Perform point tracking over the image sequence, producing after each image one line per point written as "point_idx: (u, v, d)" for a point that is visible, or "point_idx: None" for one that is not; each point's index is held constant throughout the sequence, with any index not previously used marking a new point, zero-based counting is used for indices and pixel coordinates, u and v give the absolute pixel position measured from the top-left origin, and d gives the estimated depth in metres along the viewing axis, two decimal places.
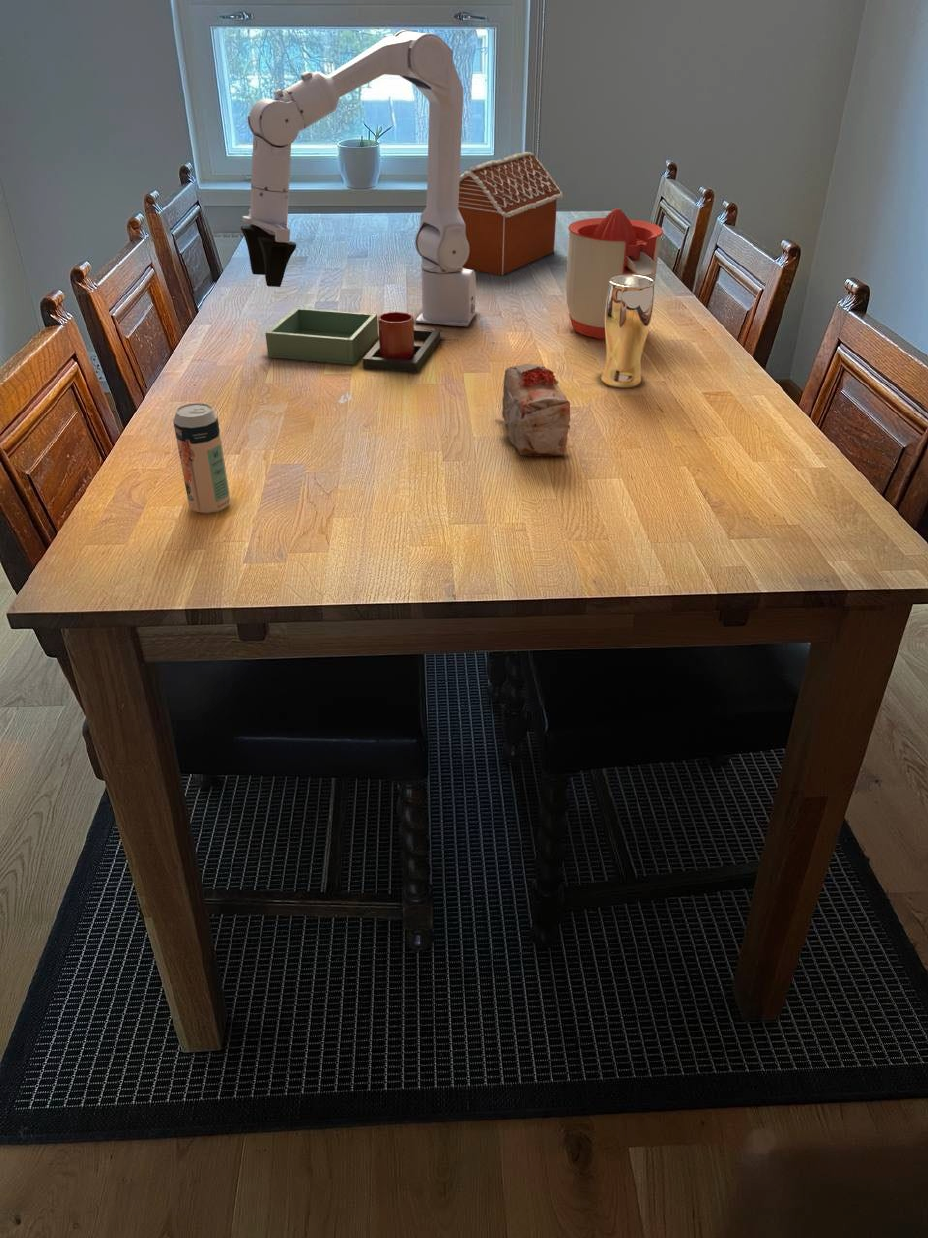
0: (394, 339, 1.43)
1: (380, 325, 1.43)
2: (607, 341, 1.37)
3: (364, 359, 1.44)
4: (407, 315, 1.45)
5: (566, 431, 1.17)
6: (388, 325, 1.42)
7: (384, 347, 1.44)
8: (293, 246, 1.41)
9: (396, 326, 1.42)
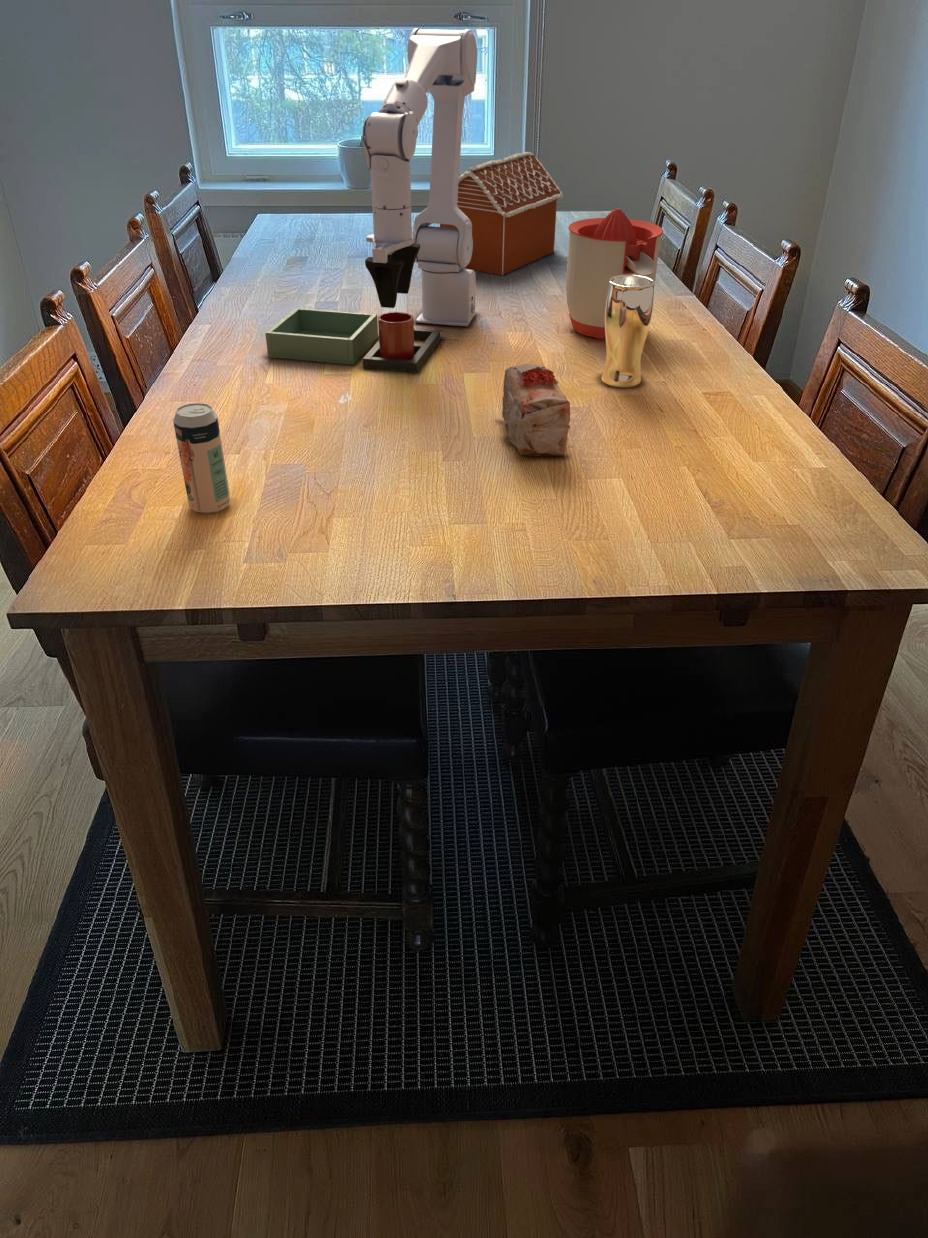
0: (394, 339, 1.43)
1: (380, 325, 1.43)
2: (607, 341, 1.37)
3: (364, 359, 1.44)
4: (407, 315, 1.45)
5: (566, 431, 1.17)
6: (388, 325, 1.42)
7: (384, 347, 1.44)
8: (395, 266, 1.33)
9: (396, 326, 1.42)
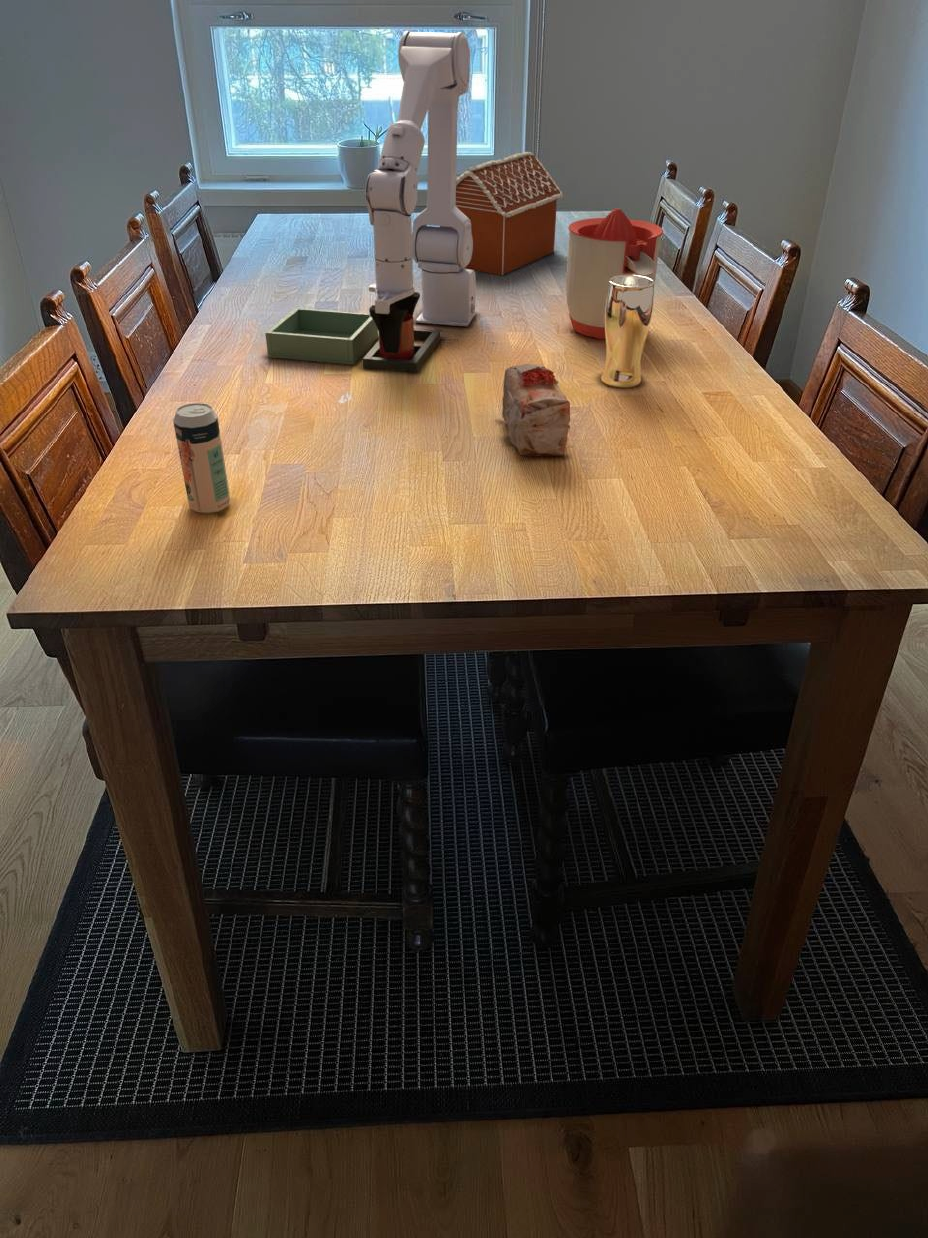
0: None
1: None
2: (607, 341, 1.37)
3: (364, 359, 1.44)
4: (407, 315, 1.45)
5: (566, 431, 1.17)
6: None
7: None
8: (398, 315, 1.38)
9: None
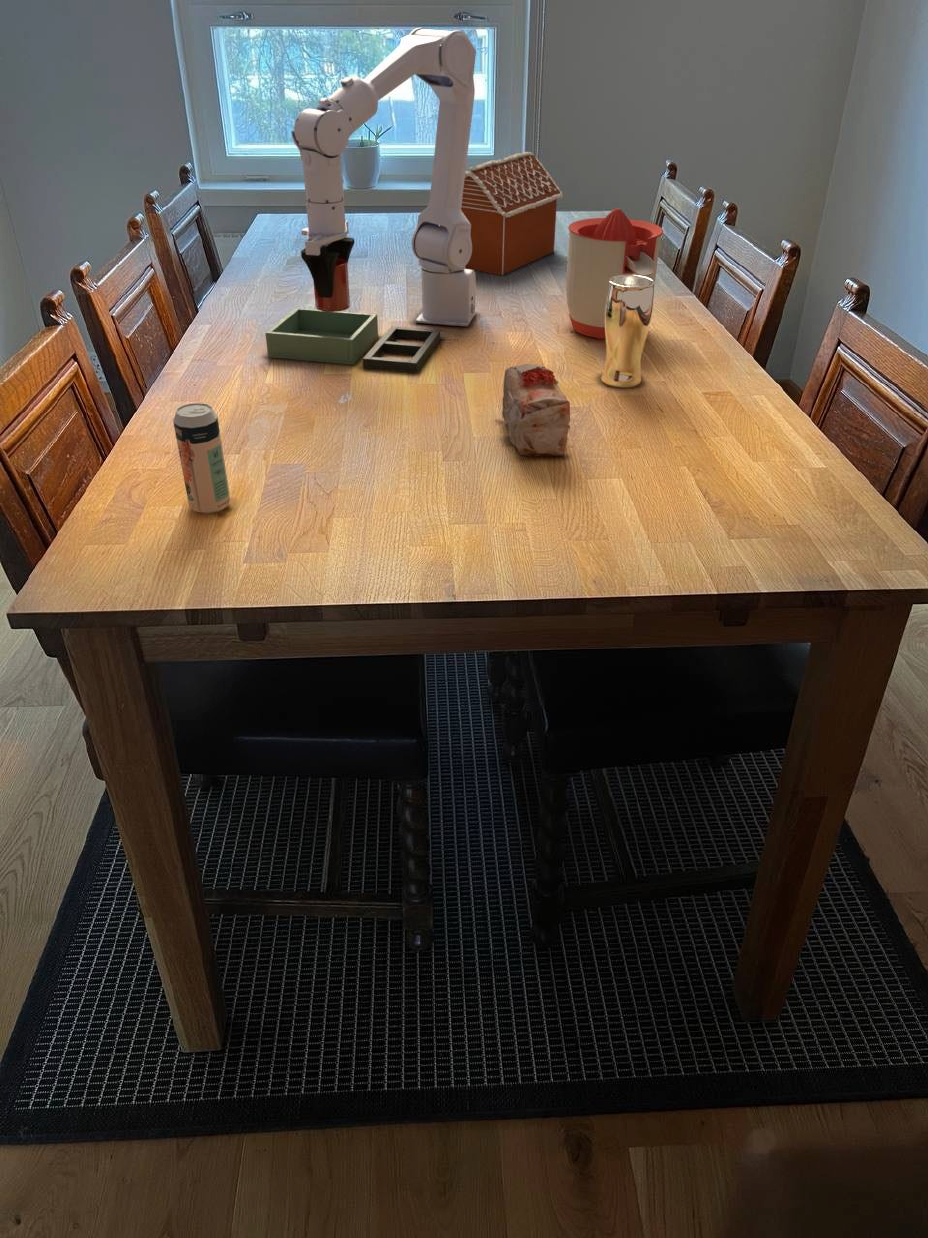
0: None
1: None
2: (607, 341, 1.37)
3: (364, 359, 1.44)
4: (341, 260, 1.45)
5: (566, 431, 1.17)
6: None
7: None
8: (330, 257, 1.38)
9: None
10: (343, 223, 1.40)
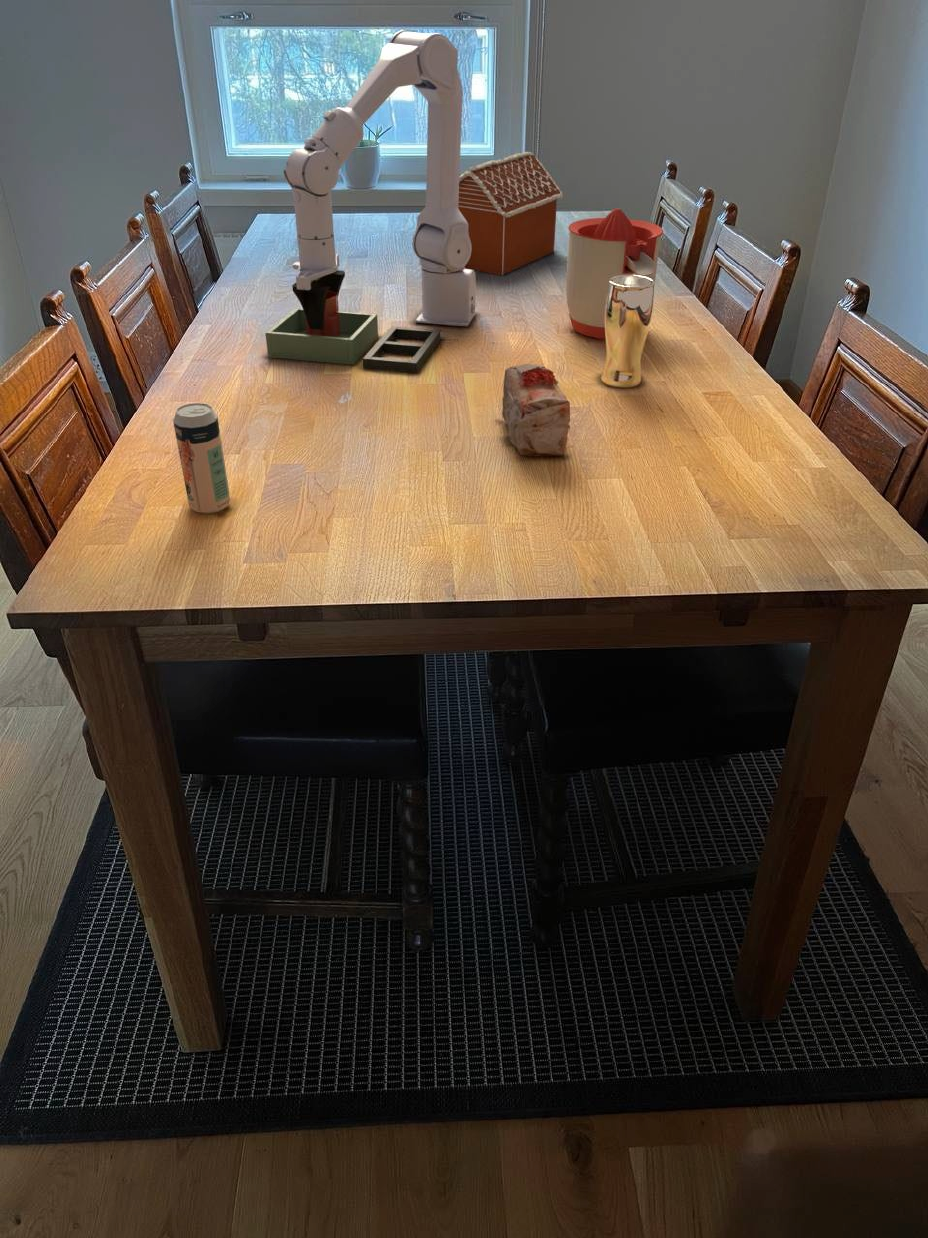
0: None
1: None
2: (607, 341, 1.37)
3: (364, 359, 1.44)
4: (332, 293, 1.49)
5: (566, 431, 1.17)
6: None
7: None
8: (320, 291, 1.42)
9: None
10: (333, 258, 1.43)
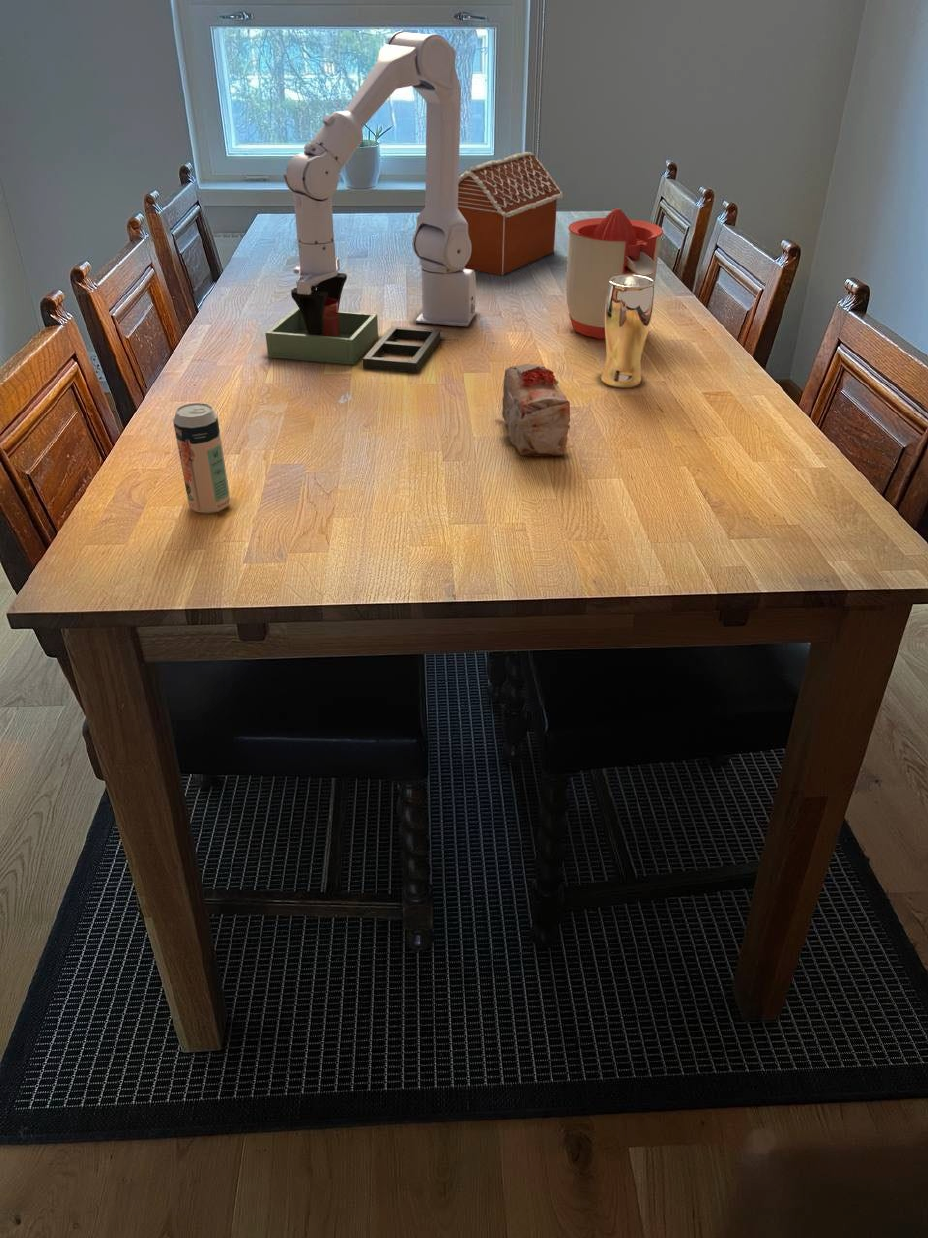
0: None
1: None
2: (607, 341, 1.37)
3: (364, 359, 1.44)
4: (333, 300, 1.50)
5: (566, 431, 1.17)
6: None
7: None
8: (319, 297, 1.42)
9: None
10: (334, 262, 1.44)
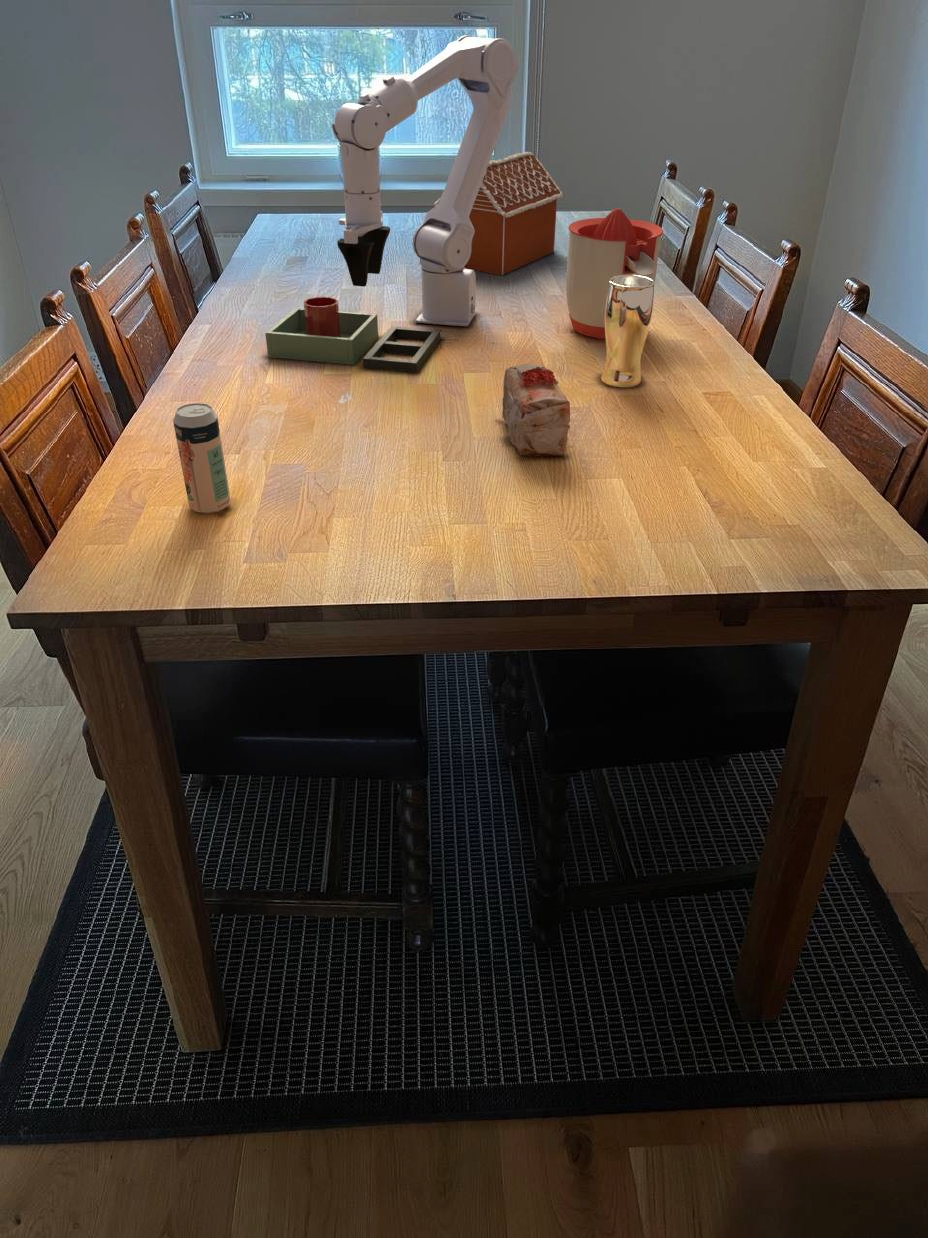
0: (319, 323, 1.48)
1: (305, 309, 1.48)
2: (607, 341, 1.37)
3: (364, 359, 1.44)
4: (333, 300, 1.50)
5: (566, 431, 1.17)
6: (312, 309, 1.46)
7: (310, 331, 1.49)
8: (365, 247, 1.43)
9: (320, 310, 1.46)
10: (379, 213, 1.45)
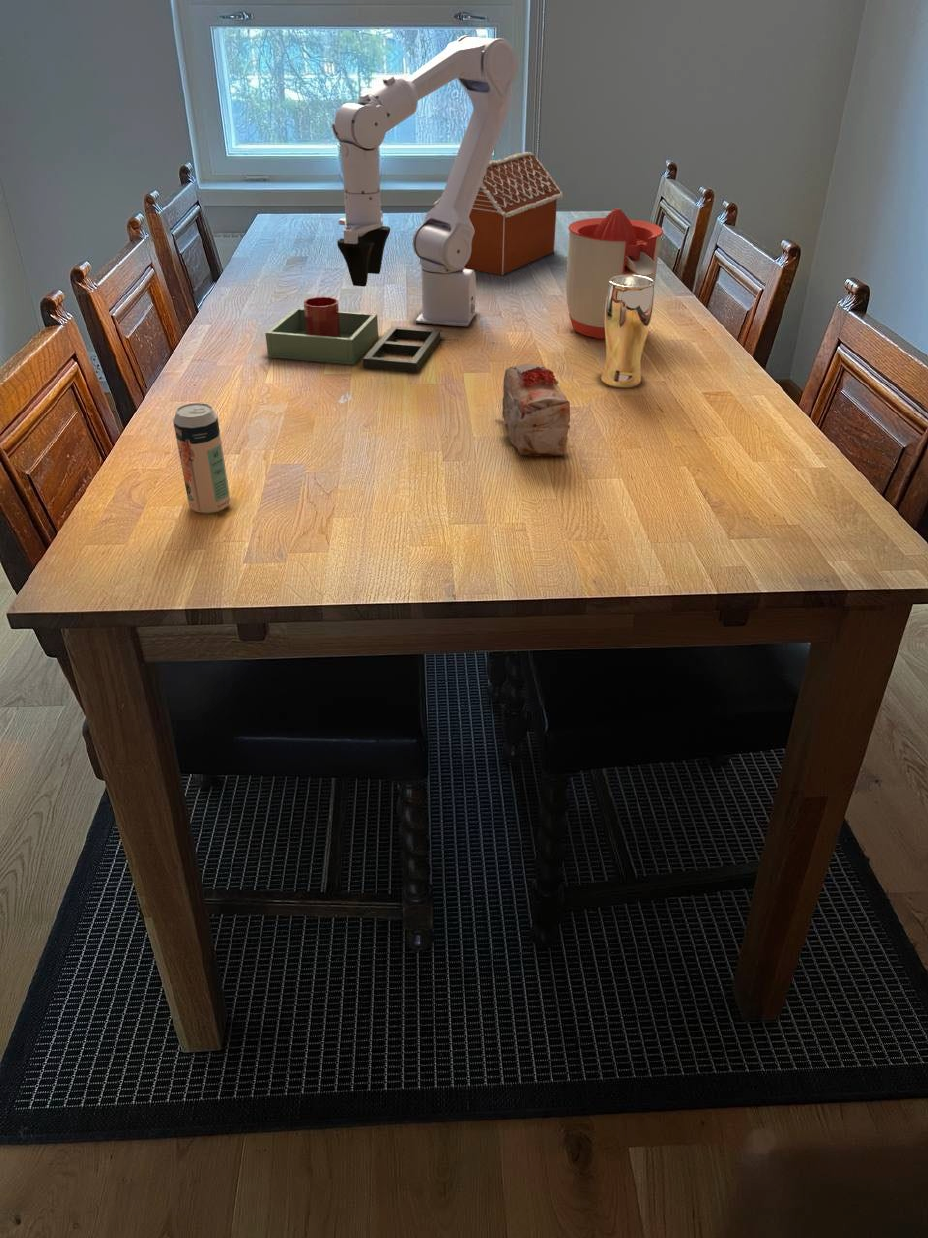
0: (319, 323, 1.48)
1: (305, 309, 1.48)
2: (607, 341, 1.37)
3: (364, 359, 1.44)
4: (333, 300, 1.50)
5: (566, 431, 1.17)
6: (312, 309, 1.46)
7: (310, 331, 1.49)
8: (365, 247, 1.43)
9: (320, 310, 1.46)
10: (379, 213, 1.45)
